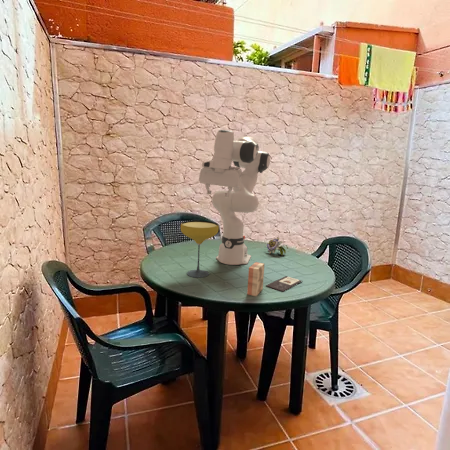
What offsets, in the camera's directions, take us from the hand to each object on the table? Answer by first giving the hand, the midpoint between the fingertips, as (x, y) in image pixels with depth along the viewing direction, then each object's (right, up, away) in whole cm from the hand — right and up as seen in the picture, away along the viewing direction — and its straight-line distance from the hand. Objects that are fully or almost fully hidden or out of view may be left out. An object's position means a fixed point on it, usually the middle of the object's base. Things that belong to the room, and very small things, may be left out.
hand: (217, 195), depth 159 cm
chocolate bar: (+31, -42, +2) cm, 52 cm away
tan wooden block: (+17, -43, -9) cm, 47 cm away
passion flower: (+35, -31, +53) cm, 70 cm away
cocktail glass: (-10, -38, +9) cm, 40 cm away
